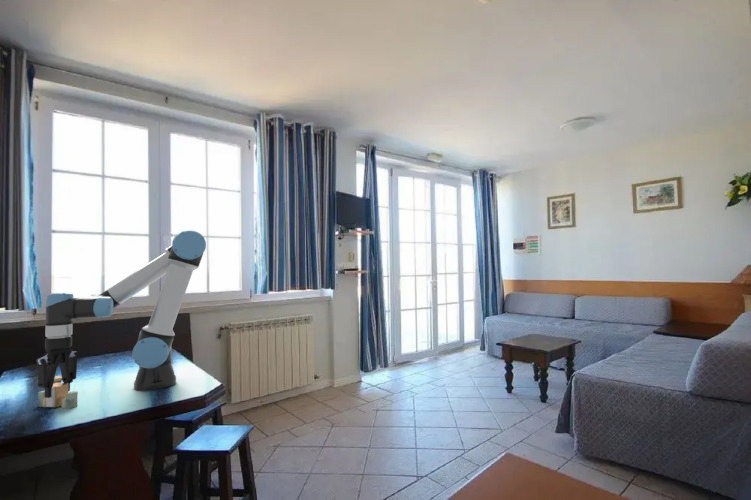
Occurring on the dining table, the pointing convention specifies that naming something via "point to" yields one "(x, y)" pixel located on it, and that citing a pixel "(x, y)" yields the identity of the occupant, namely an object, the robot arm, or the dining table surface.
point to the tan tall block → (59, 393)
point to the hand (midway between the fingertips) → (57, 404)
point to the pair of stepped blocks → (66, 402)
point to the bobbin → (57, 379)
